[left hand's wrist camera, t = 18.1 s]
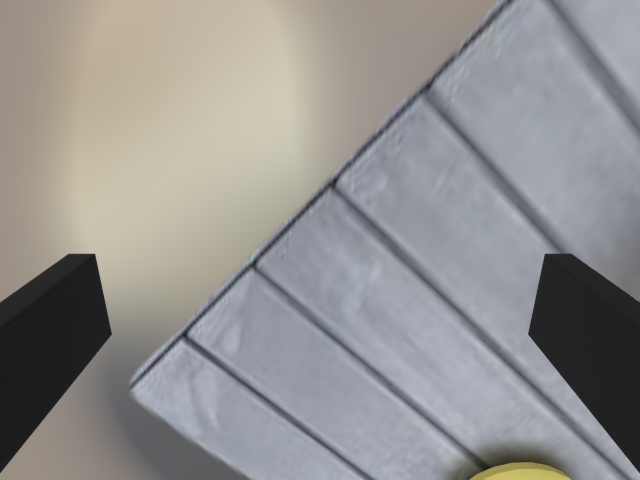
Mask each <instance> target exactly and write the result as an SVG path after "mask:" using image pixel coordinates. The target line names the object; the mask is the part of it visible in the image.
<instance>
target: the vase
mask: <svg viewBox="0 0 640 480" xmlns="http://www.w3.org/2000/svg"><path fill="white" fill-rule="evenodd" d="M469 480H572V479H570V478H569V477H568V476H567V475H566V474H564V473H563V472H562V471H560V470H558V469H555V468H553V467H551V466H548V465H544V464H538V463H532V462H520V463H509V464H504V465H500V466H495V467H492V468H490V469H488V470H485V471H483V472H481V473H478V474H477V475H475V476H474V477H472V478H471V479H469Z"/></svg>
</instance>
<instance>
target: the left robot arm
mask: <svg viewBox="0 0 640 480" xmlns="http://www.w3.org/2000/svg"><path fill="white" fill-rule="evenodd" d="M111 335H112V333H111V328H110V323H109V319H108V314H107V309H106V304H105V299H104V295H103V290H102V285H101V280H100V275H99V271H98V266H97V261H96V256H95V254H68V255H66V256H65V257H64V258H62V259H61V260H59V261H58V262H57V263H55V264H54V265H52V266H51V267H50V268H48V269H47V270H45V271H44V272H43V273H41V274H40V275H38V276H37V277H35V278H34V279H33V280H31V281H30V282H28V283H27V284H26V285H24V286H23V287H21V288H20V289H19V290H17V291H16V292H14V293H13V294H12V295H10V296H9V297H7V298H6V299H4V300H3V301H2V302H0V473H1V472H2V470H3V469H4V468H5V467H6V465H7V464H8V463H9V462H10V460H11V459H12V458H13V457H14V455H15V454H16V453H17V452H18V450H19V449H20V448H21V447H22V445H23V444H24V443H25V442H26V440H27V439H28V438H29V437H30V435H31V434H32V433H33V432H34V430H35V429H36V428H37V427H38V426H39V424H40V423H41V422H42V421H43V419H44V418H45V417H46V416H47V414H48V413H49V412H50V411H51V409H52V408H53V407H54V406H55V404H56V403H57V402H58V401H59V399H60V398H61V397H62V396H63V394H64V393H65V392H66V391H67V389H68V388H69V387H70V386H71V384H72V383H73V382H74V381H75V380H76V378H77V377H78V376H79V374H80V373H81V372H82V371H83V369H84V368H85V367H86V366H87V365H88V363H89V362H90V361H91V360H92V358H93V357H94V356H95V355H96V353H97V352H98V351H99V350H100V348H101V347H102V346H103V345H104V343H105V342H106V341H107V340H108V338H109V337H110V336H111ZM528 335H529V336H530V337H531V338H532V340H533V341H534V342H535V343H536V345H537V346H538V347H539V348H540V350H541V351H542V352H543V353H544V355H545V356H546V357H547V358H548V360H549V361H550V362H551V363H552V365H553V366H554V367H555V368H556V370H557V371H558V372H559V373H560V375H561V376H562V377H563V378H564V380H565V381H566V382H567V383H568V384H569V386H570V387H571V388H572V389H573V391H574V392H575V393H576V394H577V396H578V397H579V398H580V399H581V401H582V402H583V403H584V404H585V406H586V407H587V408H588V409H589V411H590V412H591V413H592V414H593V416H594V417H595V418H596V419H597V421H598V422H599V423H600V424H601V426H602V427H603V428H604V429H605V430H606V432H607V433H608V434H609V435H610V437H611V438H612V439H613V440H614V442H615V443H616V444H617V445H618V447H619V448H620V449H621V450H622V452H623V453H624V454H625V455H626V457H627V458H628V459H629V460H630V462H631V463H632V464H633V465H634V467H635V468H636V469H637V470H638V472H639V473H640V302H638V301H637V300H636V299H634V298H633V297H631V296H630V295H628V294H627V293H626V292H624V291H623V290H621V289H620V288H619V287H617V286H616V285H614V284H613V283H612V282H610V281H609V280H607V279H606V278H605V277H603V276H602V275H600V274H599V273H598V272H596V271H595V270H593V269H592V268H590V267H589V266H588V265H586V264H585V263H583V262H582V261H581V260H579V259H578V258H576V257H575V256H574V255H572V254H545V256H544V261H543V266H542V271H541V275H540V280H539V285H538V290H537V295H536V299H535V304H534V309H533V314H532V319H531V323H530V328H529V333H528Z"/></svg>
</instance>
